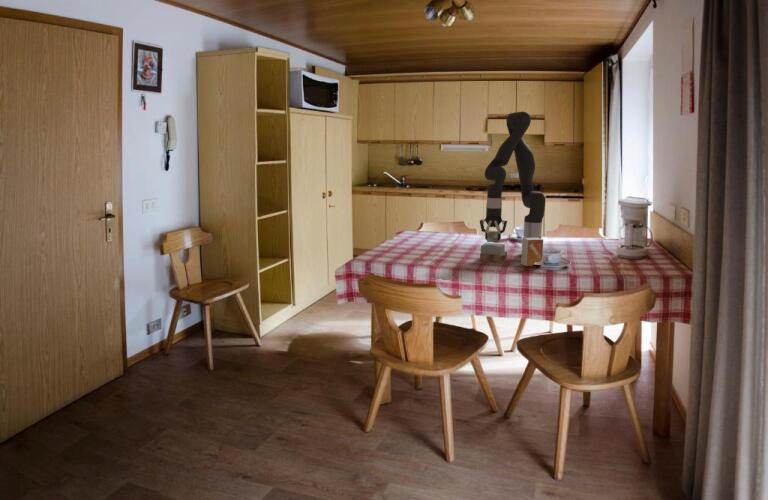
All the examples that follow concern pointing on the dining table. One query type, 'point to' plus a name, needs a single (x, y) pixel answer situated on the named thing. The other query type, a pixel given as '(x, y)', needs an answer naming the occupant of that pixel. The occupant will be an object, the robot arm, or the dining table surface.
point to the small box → (531, 251)
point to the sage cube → (492, 236)
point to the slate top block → (492, 248)
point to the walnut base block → (493, 257)
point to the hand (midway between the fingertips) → (492, 240)
